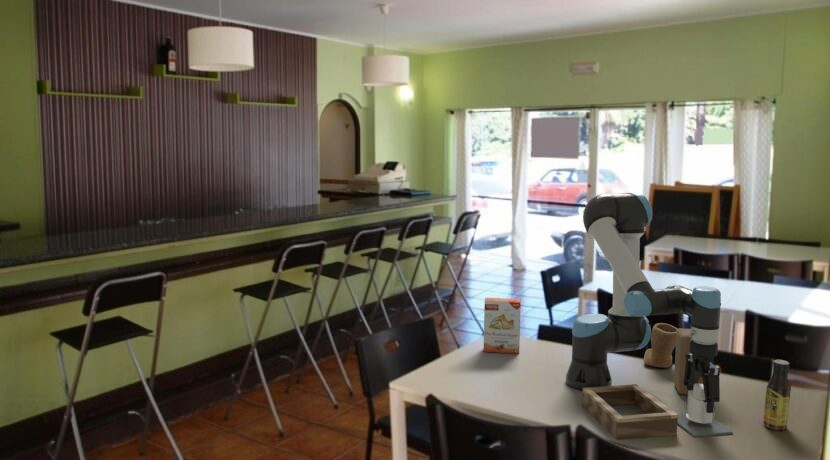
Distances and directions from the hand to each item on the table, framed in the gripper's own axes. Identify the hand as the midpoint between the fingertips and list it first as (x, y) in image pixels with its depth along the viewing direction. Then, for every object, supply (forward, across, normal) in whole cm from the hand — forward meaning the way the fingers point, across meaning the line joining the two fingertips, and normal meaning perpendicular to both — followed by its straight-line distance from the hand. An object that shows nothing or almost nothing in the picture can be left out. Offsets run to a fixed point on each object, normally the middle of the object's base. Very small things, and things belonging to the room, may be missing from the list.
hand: (699, 416), depth 198 cm
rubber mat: (+3, 0, 0) cm, 3 cm away
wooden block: (+3, -25, +13) cm, 28 cm away
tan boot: (+3, -52, +17) cm, 55 cm away
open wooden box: (+3, -7, -19) cm, 20 cm away
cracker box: (+3, -76, -37) cm, 84 cm away
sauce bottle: (+3, +5, +21) cm, 22 cm away
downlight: (+1, 0, 0) cm, 1 cm away
